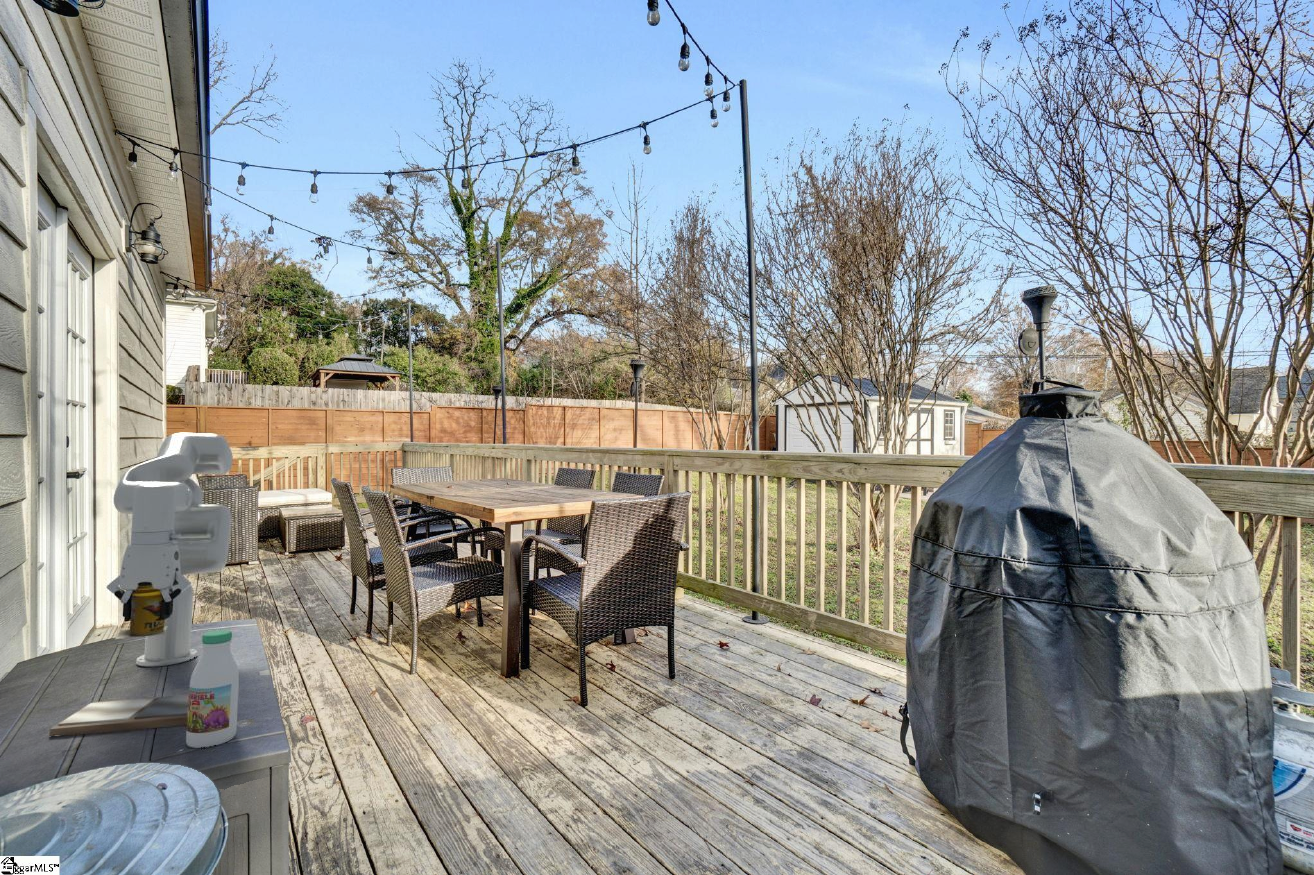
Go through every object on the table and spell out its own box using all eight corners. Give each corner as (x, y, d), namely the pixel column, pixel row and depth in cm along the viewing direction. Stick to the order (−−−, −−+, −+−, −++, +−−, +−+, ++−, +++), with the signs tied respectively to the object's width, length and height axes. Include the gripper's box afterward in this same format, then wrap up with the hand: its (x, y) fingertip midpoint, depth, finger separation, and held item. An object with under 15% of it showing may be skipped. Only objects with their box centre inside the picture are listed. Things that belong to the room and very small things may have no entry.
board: (91, 709, 130) (92, 700, 130) (224, 698, 137) (225, 690, 137) (49, 737, 116) (50, 727, 116) (199, 723, 124) (199, 714, 124)
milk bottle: (202, 731, 120) (208, 627, 121) (244, 731, 121) (250, 627, 122) (175, 749, 112) (182, 637, 113) (220, 748, 113) (226, 637, 114)
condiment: (164, 634, 138) (167, 580, 139) (114, 640, 134) (117, 584, 134) (167, 627, 144) (170, 575, 145) (120, 631, 140) (123, 578, 140)
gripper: (203, 536, 146) (199, 613, 145) (114, 537, 141) (109, 617, 140) (190, 540, 139) (185, 621, 138) (96, 541, 134) (91, 625, 133)
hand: (147, 618), depth 139 cm, fingers closed on condiment, 6 cm apart
